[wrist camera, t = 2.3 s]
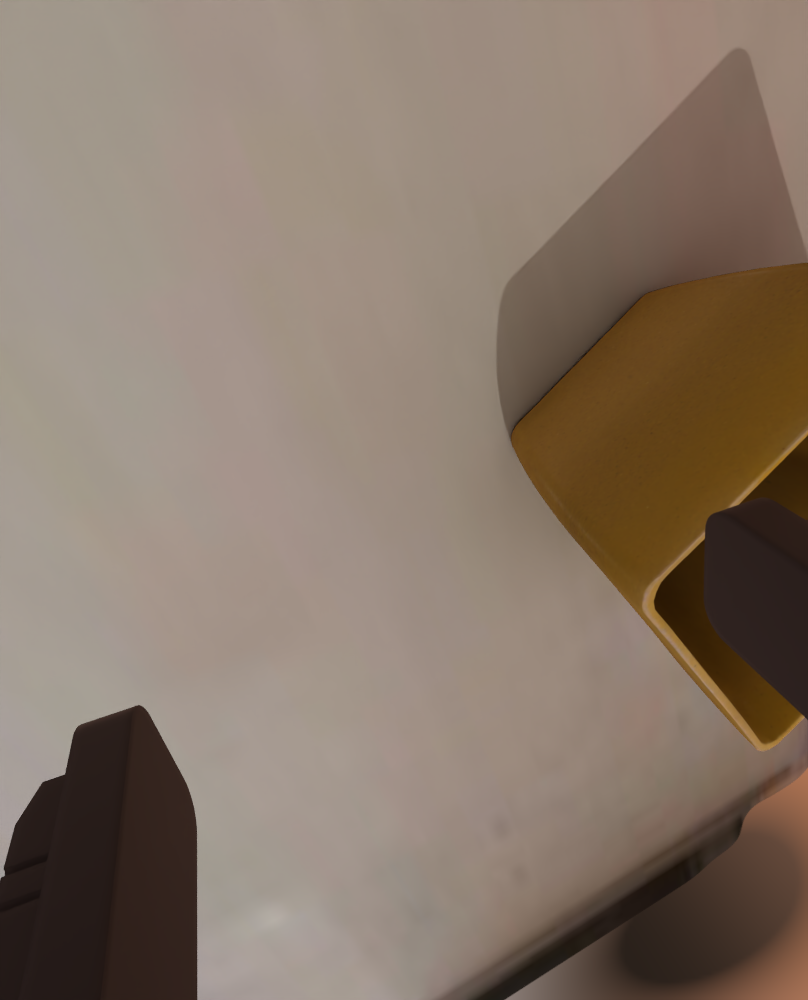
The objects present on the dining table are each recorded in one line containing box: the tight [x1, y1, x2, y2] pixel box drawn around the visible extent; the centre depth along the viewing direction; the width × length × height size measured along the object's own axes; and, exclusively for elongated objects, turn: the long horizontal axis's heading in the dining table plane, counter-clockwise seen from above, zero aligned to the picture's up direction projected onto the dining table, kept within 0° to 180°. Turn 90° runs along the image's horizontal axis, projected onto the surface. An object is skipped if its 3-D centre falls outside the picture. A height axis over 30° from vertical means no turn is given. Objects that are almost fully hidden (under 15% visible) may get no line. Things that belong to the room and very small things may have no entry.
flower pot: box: [511, 263, 808, 751], centre depth 39 cm, size 19×19×17 cm
